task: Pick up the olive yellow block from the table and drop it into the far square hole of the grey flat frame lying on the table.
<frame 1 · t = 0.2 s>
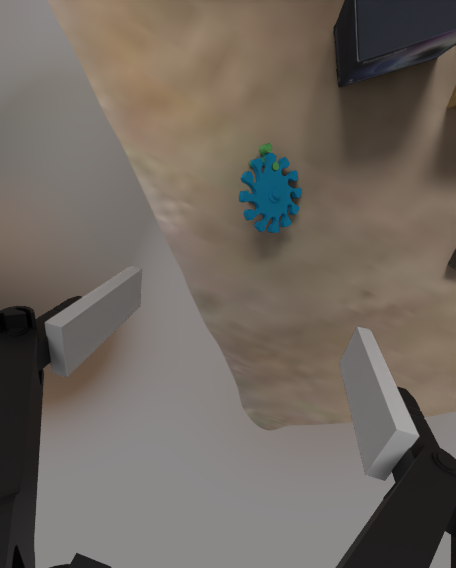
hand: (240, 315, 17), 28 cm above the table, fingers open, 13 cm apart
gear: (272, 187, 39), on the table
small box: (384, 43, 31), on the table
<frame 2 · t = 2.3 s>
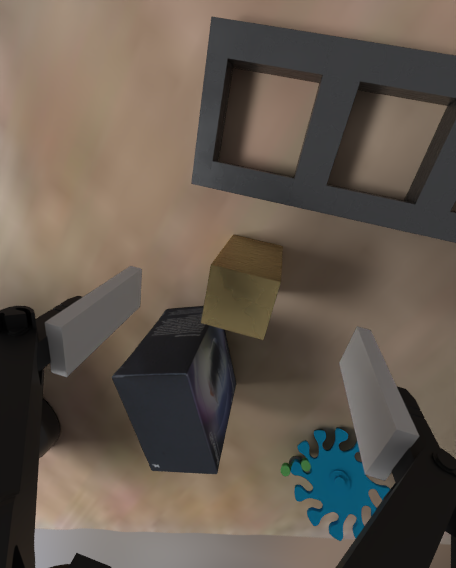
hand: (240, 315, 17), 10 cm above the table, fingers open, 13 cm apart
gear: (328, 445, 33), on the table
grey flat frame: (380, 147, 20), on the table
small box: (204, 346, 31), on the table
olive yellow block: (252, 263, 25), on the table
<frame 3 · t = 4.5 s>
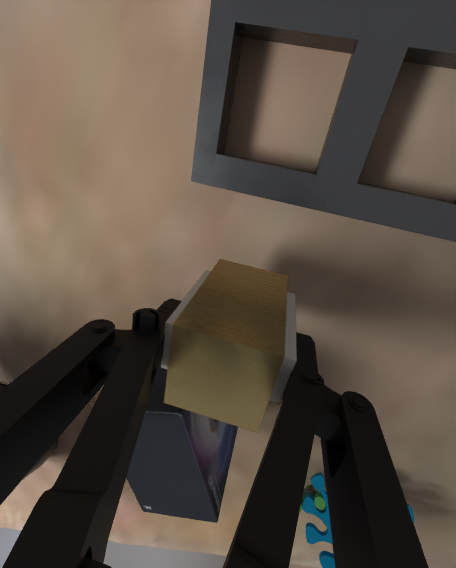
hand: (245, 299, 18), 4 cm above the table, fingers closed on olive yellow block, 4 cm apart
gear: (345, 477, 29), on the table
grey flat frame: (426, 135, 16), on the table
small box: (207, 364, 27), on the table
olive yellow block: (246, 297, 19), point 4 cm above the table, touching gripper
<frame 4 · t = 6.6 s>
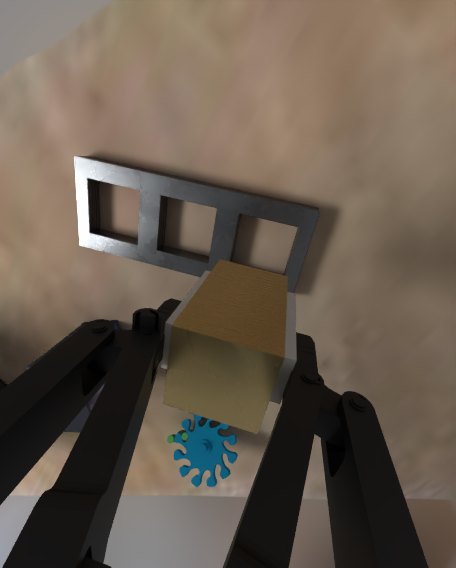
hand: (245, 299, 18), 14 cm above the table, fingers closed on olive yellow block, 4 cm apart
gear: (208, 424, 45), on the table
grey flat frame: (191, 226, 31), on the table
small box: (113, 348, 42), on the table
olive yellow block: (246, 297, 19), point 13 cm above the table, touching gripper
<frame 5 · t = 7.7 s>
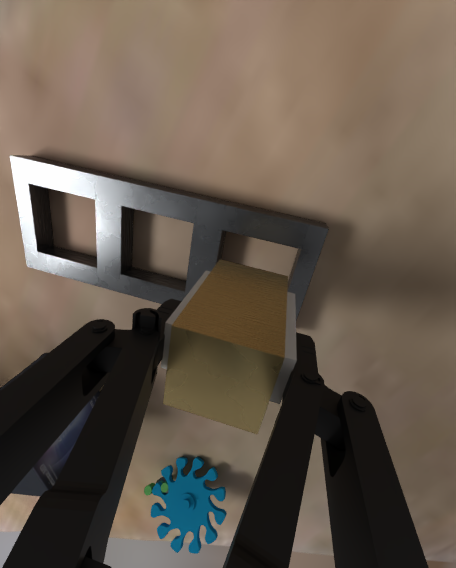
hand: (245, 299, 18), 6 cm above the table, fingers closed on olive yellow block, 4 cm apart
gear: (194, 469, 39), on the table
grey flat frame: (164, 244, 25), on the table
small box: (80, 383, 36), on the table
olive yellow block: (246, 297, 19), point 6 cm above the table, touching gripper
when the fingers open (3 cm above the table, at t = 8.5 s): olive yellow block drops 3 cm, resting in grey flat frame.
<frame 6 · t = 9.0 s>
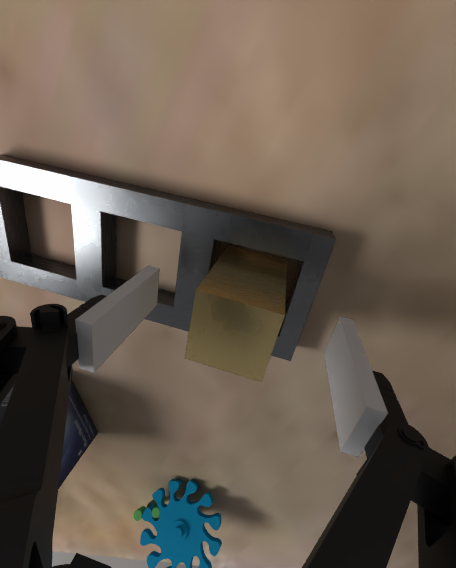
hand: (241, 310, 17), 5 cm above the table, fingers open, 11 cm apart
gear: (188, 491, 36), on the table
grey flat frame: (151, 253, 22), on the table
small box: (65, 400, 33), on the table
olive yellow block: (250, 279, 21), resting in grey flat frame
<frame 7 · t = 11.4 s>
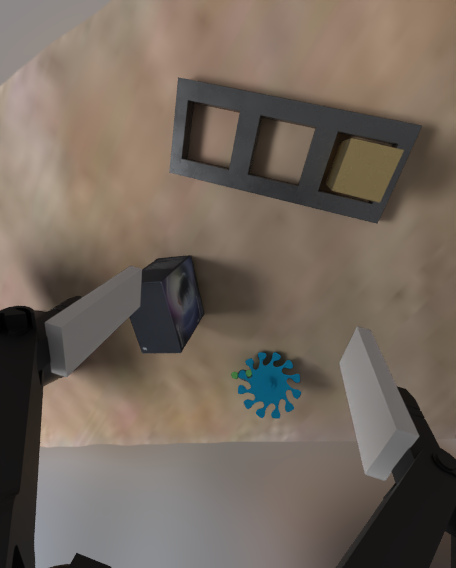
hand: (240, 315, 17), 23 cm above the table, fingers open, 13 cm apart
gear: (268, 366, 47), on the table
grey flat frame: (281, 152, 33), on the table
small box: (182, 286, 44), on the table
olive yellow block: (351, 168, 32), resting in grey flat frame
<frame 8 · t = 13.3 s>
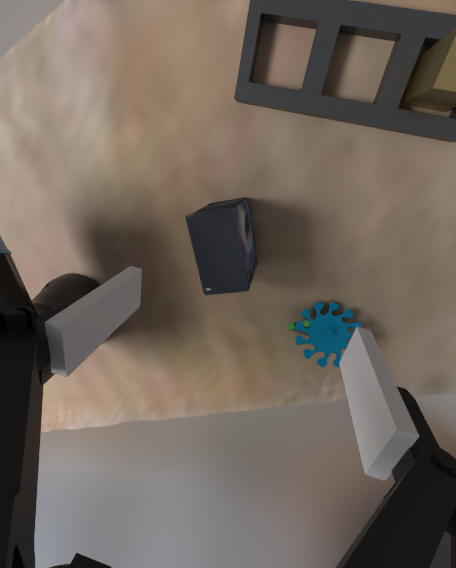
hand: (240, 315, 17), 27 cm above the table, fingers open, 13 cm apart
gear: (321, 319, 45), on the table
grey flat frame: (355, 71, 31), on the table
small box: (234, 234, 42), on the table
olive yellow block: (431, 84, 30), resting in grey flat frame
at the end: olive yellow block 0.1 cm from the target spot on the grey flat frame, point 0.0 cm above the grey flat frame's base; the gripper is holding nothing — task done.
